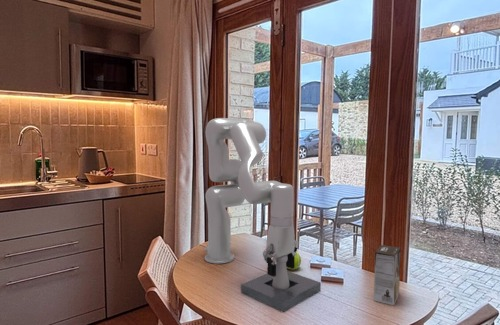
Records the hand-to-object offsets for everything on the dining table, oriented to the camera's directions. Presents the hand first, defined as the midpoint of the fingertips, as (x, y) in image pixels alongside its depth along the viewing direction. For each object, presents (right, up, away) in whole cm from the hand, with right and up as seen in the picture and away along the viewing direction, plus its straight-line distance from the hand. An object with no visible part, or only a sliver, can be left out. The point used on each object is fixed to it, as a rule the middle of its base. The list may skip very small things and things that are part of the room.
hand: (281, 271), depth 115 cm
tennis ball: (+6, -6, +21) cm, 23 cm away
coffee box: (+34, -8, -4) cm, 35 cm away
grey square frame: (0, -7, 0) cm, 7 cm away
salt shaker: (0, -7, +1) cm, 7 cm away
